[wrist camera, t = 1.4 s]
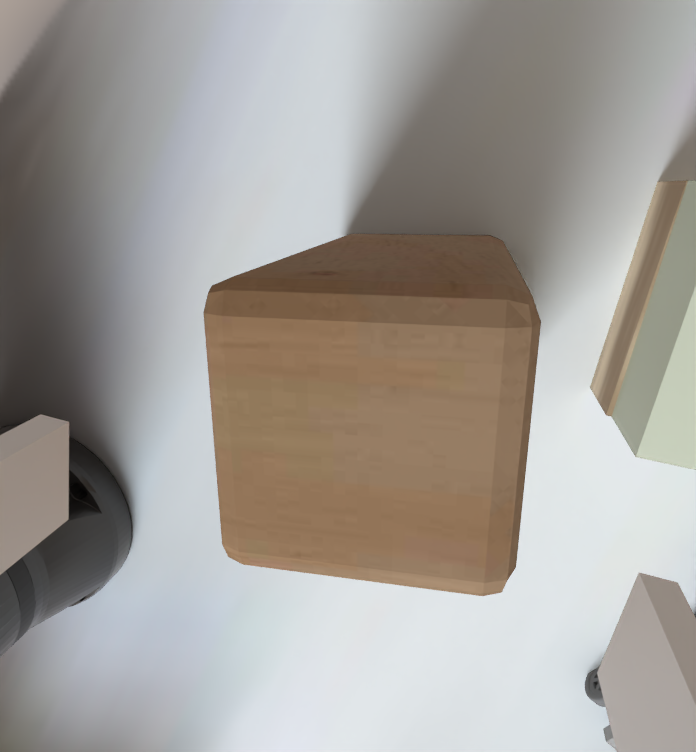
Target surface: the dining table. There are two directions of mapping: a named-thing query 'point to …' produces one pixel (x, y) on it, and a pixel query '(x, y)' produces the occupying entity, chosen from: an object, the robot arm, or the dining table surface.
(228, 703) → the dining table surface
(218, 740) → the dining table surface
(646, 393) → the tower top
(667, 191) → the tower base
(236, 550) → the wooden block
